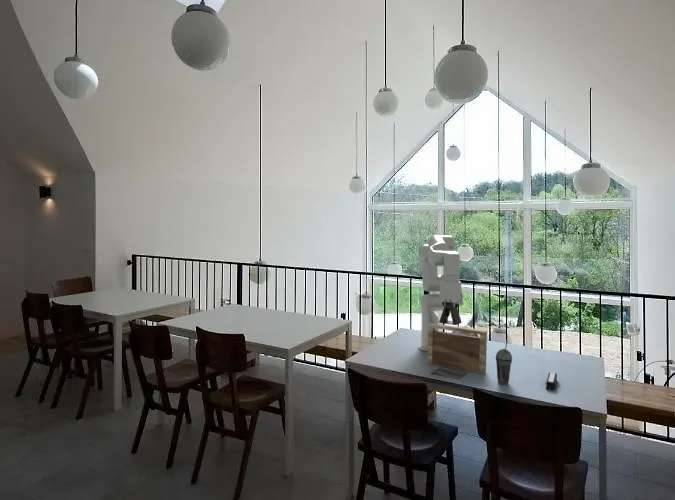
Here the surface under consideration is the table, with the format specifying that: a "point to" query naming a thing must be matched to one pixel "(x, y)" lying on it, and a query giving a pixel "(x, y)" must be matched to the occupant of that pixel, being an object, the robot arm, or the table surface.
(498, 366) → the beverage cup
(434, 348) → the model door
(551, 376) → the bus
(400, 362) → the table surface
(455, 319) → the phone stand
